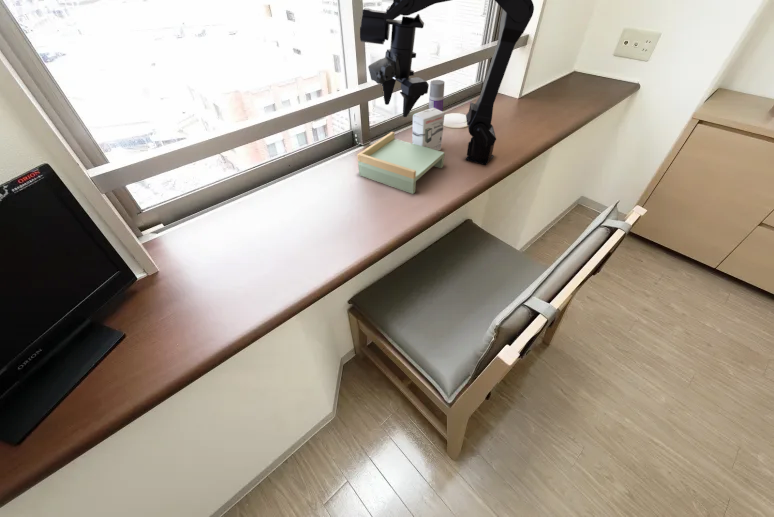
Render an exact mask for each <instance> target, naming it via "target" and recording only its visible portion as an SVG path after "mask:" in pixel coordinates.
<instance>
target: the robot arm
mask: <svg viewBox="0 0 774 517" xmlns="http://www.w3.org/2000/svg"><path fill="white" fill-rule="evenodd" d="M392 1H393V2H392V3H391V4H390V5H388V6H387V8H386V9H385V10H386V11H383V10H378V9H377V10H375V9H371V8H369V7H368V8H367V7H363V9H362V15H361V21H360V27H359V39H360V40H359V41H360V42H361V43H368V44H376V45H385V42H386V41H389V38H390V48H388V49H386V51H385V56H384V57H382V58H379V59H378V60H376V61H374V62H373V63H371V64H369V65H368V66H367V68H368V72H369V76H370V80H371V81H374V82H375V83H376V84H378V85H381V84H382V86H383V91H384V97H383V101H384V105H386V106H388V105H390V102H391V99H392V97H393V92H394V89H395V85H396V81H397V82H398V83H400V90H401V91H400V92H399V94H400V95H401V97H402V99H403V102H402V103H403V104H402V117H403V118H407V117H409V114H410V113H411V111H412V110H413V108H414V107H415V104H417V102H418V100H419V99H420V98H421V97H423V96H424V95H426V94H427V95H428V93H429V88H430V84H429V83H428V82H427V80H425V79H423V78H422V77H419V76H416V77H412V76H414V75H415V71H414V70H412V64H413V59H416V58H417V53H416V52H415V51H414V47H415V39H416V29H423V28H424V26H425V22H424V21H423V20H422V18H421V15H420V13H418V12H420V11H422V10H425V9H427V8H429V7H430V6H433V5H436V4H439V3H446V2H450V1H452V0H392ZM494 1H495V2H496V4H497V5H498V6H499V7H500V8H501V9H502V10H501V17H500V22H499V32H498V38H497V42H496V45H495V49H494V52H493V54H492V57H491V61H490V64H489V66H488V70H487V72H486V75H485V79H484V82H483V84H482V89H481V91H480V94H479V97H478V99H476V102H472V101H470V103H469V109H468V111H467V113H466V115H465V119H466V125H467V128H468V133H469V135H470V136H471V137H470V141H469V142H468V143H467V150H466V157H465V161H468V162H472V163H475V164H479V165H481V166H482V165H483V166H487V165H488V163H489V162H490V161H491V160H492V159H493V158H494V154H493V153H494V148H495V143H496V141H497V136H496V132H495V129H494V126H493V124H492V122H493V112H494V104H495V101H496V98H497V96H498V93H499V91H500V88H501V85H502V82H503V79H504V76H505V74H506V71H507V68H508V65H509V63H510V60H511V57H512V54H513V52H514V49H515V46H516V44H517V42H518V41H519V40H520V38H521V37H522V36H523V34H524V32H525V31H526V29H527V27H528V25H529V23H530V21H531V20H532V17H533V16H534V10H535V6H534V2H533V0H494ZM416 13H417V14H416ZM413 14H416V15H415V16H414V17H413V16H412V17H411V15H413ZM400 16H402V17H401V19H397V18H399V17H400ZM390 29H391V35H390ZM390 36H391V37H390Z"/></svg>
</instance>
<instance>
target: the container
mask: <svg viewBox="0 0 774 517" xmlns="http://www.w3.org/2000/svg"><path fill="white" fill-rule="evenodd" d="M444 96H445V81H444V80H441V79H434V80H431V81H430V84H429V96H428V109H430V108H436V109H438V110H440V111H442V112H444V111H443V110H444V99H445V97H444Z"/></svg>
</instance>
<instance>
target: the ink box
mask: <svg viewBox="0 0 774 517" xmlns="http://www.w3.org/2000/svg"><path fill="white" fill-rule="evenodd" d="M445 115H446V114H445V112H444V111H440V110H438V109H436V108H430V109H429V108H428V109H424V110H421V111H419V112H415V113H414V114H413V115H412V133H411V134H412V136H411V143H412V144H416V145H419V146H423V147H427V148H430V149H434V150H438V151H441V150H442V145H443V144H442V143H443V134H444V123H445Z"/></svg>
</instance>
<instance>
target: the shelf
mask: <svg viewBox="0 0 774 517" xmlns="http://www.w3.org/2000/svg"><path fill="white" fill-rule="evenodd" d="M395 135H396V134H395V131H390V132H389V133H387V134H386V135H385V136H383V137H381V138H380V139H378V140H377V141H375V142H373V143H372V144H370V146H367V147H366V148H365V149H363V150H361V151H360V152H359V153H357V165H358V175H359V177H363V178H366V179H369V180H372V181H374V182H378V183H381V184H383V185H386V186H389V187H390V188H391V187H392V188H395V189H397V190H400V191H402V192H406V193H409V194H412V195H413V194H415V193H416V188H417V186H416V184H417V181H418V180H420V178H421V177H423V175H425V174H426V173H427V172H429V170H430V169H431V168H433V167H436V168H439V169H442V168H443V167H444V163H445V154H446V153H445V152H444V151H441V150H434V149H430V148H427V147H423V146H419V145H416V144H412V142H409V141H406V140H405V141H404V140H401V139H398V138H396V137H395Z"/></svg>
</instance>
